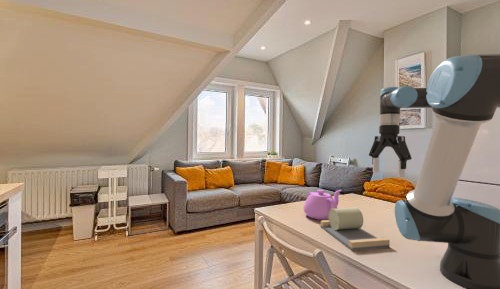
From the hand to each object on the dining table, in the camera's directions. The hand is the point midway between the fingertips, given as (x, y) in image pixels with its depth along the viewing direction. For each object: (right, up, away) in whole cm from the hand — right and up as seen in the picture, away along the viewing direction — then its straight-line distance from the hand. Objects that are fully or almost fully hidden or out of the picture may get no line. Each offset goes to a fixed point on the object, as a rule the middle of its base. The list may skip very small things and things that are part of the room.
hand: (387, 174), depth 106 cm
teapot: (-20, -25, +25) cm, 41 cm away
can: (-10, -20, +6) cm, 23 cm away
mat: (-16, -26, -1) cm, 30 cm away
